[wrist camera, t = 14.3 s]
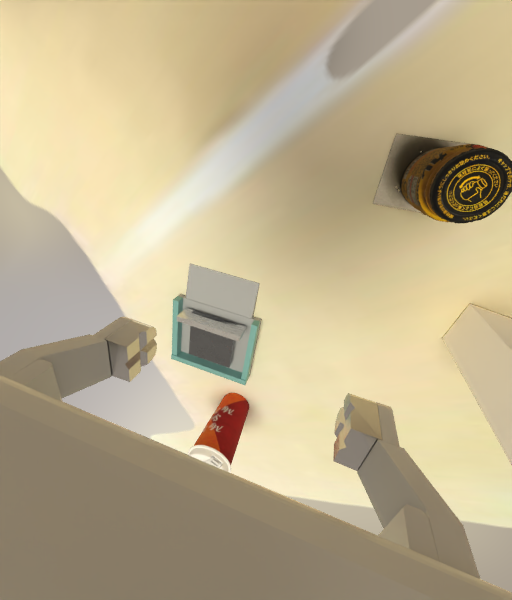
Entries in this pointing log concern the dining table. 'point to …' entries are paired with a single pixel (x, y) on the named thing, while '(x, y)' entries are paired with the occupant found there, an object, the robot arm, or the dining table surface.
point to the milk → (486, 365)
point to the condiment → (444, 179)
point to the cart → (211, 336)
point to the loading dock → (222, 304)
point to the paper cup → (222, 433)
